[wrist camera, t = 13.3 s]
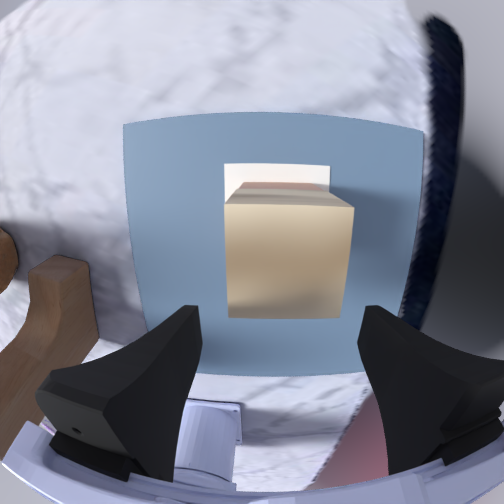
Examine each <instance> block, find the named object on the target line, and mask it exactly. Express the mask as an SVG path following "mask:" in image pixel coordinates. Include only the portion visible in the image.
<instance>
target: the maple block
mask: <svg viewBox="0 0 504 504" xmlns="http://www.w3.org/2000/svg"><path fill="white" fill-rule="evenodd" d="M353 218H354V207H353V206H351V205H350V204H348V203H346V202H345V201H343V200H341V199H340V198H338V197H336V196H335V195H333V194H331V193H329V192H328V191H322V190H299V189H236V190H235V191H234V193H233V194H232V195H231V196H230V197H229V199H228V200H227V201H226V202H225V204H224V222H225V254H226V280H227V302H228V318H248V319H324V318H340V313H341V307H342V301H343V296H344V289H345V283H346V276H347V270H348V262H349V255H350V246H351V238H352V228H353Z"/></svg>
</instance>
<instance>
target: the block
mask: <svg viewBox="0 0 504 504" xmlns="http://www.w3.org/2000/svg"><path fill="white" fill-rule="evenodd" d="M17 268H18V256H17V252H16V248H15V244H14V242H13V240H12V238H11V236H10V235H8V234H7V233H5V232H4V231H3V230H2V229H1V228H0V294H1V293H2V292H3V291H4V290H5V289H6V288H7V287H8V285H9V284H10V282H11V280H12V279H13V276H14V274H15V272H16V269H17Z"/></svg>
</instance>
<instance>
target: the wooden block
mask: <svg viewBox="0 0 504 504" xmlns="http://www.w3.org/2000/svg"><path fill="white" fill-rule="evenodd" d="M28 283H29V293H30V305H29V309H28V313H27V317H26V321H25V323H24V325H23V326H22V328H21V329H20V331H19V332H18V334H17V335H16V337H15V338H14V339H13V340H12V341H11V342H10V343H9V344H8V345H7V346H6V347H5V348H4V349H3V350H2V351H1V352H0V461H2V460H3V458H4V457H5V455H6V453H7V451H8V450H9V448H10V446H11V445H12V443H13V442H14V440H15V438H16V437H17V435H18V434H19V432H20V430H21V429H22V427H23V426H24V424H25V423H26V421H30V422H32V423H34V424H35V425H37V426H39V425H40V423H41V422H42V420H43V418H44V417H45V415H44V413H43V412H42V410H41V409H40V407H39V406H38V404H37V402H36V399H35V391H36V390H37V389H38V387H39V386H40V385H41V383H42V382H43V381H44V379H45V378H46V377H47V376H48V374H49V373H50V372H51V370H55V369H61V368H66V367H71V366H76V365H80V364H81V363H82V361H83V360H84V359H85V357H86V356H87V355H88V353H89V352H90V351H91V349H92V348H93V347H94V345H95V344H96V343H97V341H98V339H99V335H98V330H97V324H96V319H95V313H94V307H93V300H92V293H91V285H90V276H89V266H88V263H87V262H85V261H81V260H76V259H72V258H68V257H64V256H60V255H54V256H52V257H51V258H49V259H47V260H46V261H44V262H43V263H41V264H39V265H38V266H36V267H35V268H33V269H32V270H30V271H29V272H28Z"/></svg>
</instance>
